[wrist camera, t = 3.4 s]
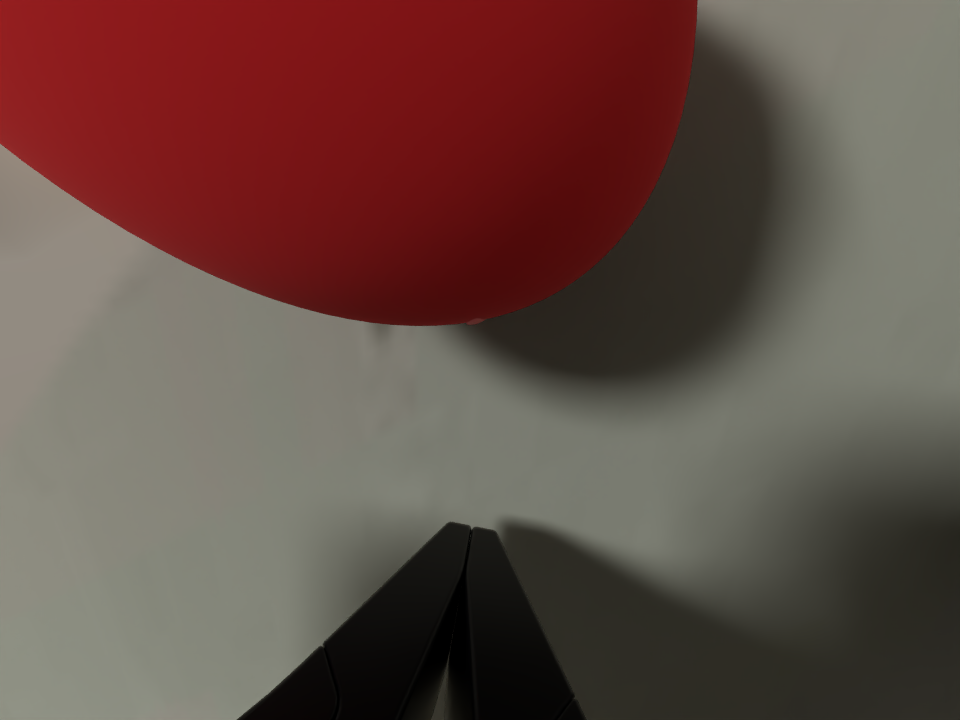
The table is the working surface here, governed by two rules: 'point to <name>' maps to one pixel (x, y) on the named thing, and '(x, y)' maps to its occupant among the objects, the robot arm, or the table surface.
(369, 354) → the table surface
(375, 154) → the cap
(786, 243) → the table surface
